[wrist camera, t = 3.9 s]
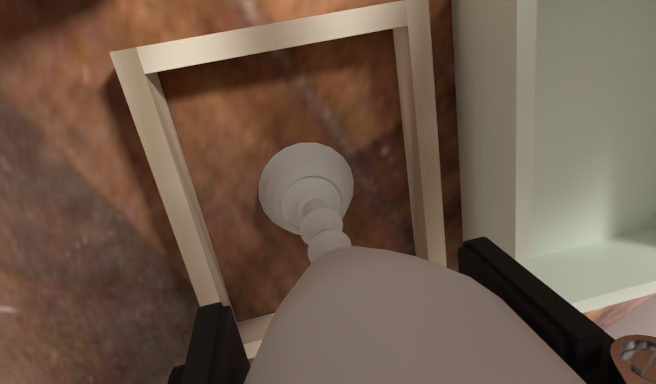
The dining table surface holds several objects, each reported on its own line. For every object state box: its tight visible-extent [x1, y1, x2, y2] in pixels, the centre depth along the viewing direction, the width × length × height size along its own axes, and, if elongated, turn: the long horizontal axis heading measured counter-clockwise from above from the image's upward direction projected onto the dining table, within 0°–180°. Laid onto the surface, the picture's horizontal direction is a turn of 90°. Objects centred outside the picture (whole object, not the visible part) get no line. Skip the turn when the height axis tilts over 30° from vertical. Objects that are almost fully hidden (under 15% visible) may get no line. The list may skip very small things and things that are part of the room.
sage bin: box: [451, 0, 656, 313], centre depth 19 cm, size 13×16×5 cm
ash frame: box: [109, 0, 447, 359], centre depth 19 cm, size 13×16×2 cm
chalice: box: [244, 143, 586, 384], centre depth 12 cm, size 7×7×18 cm
